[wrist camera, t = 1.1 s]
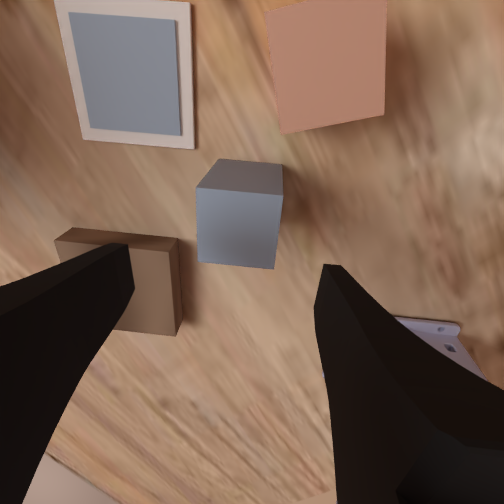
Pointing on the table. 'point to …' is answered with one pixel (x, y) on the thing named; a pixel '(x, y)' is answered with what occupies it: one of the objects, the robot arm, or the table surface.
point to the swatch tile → (131, 69)
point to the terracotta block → (327, 61)
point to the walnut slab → (139, 277)
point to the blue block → (239, 213)
